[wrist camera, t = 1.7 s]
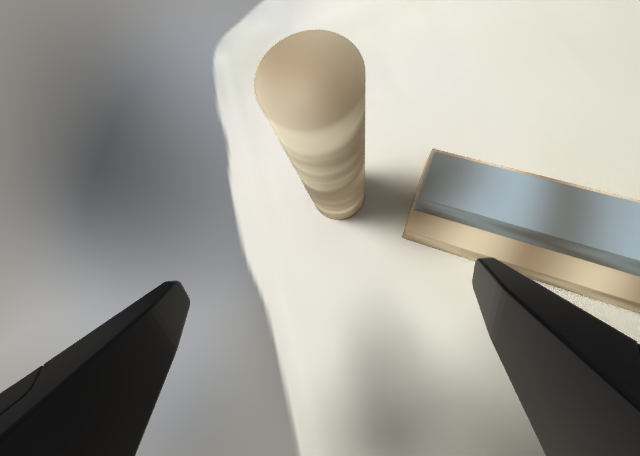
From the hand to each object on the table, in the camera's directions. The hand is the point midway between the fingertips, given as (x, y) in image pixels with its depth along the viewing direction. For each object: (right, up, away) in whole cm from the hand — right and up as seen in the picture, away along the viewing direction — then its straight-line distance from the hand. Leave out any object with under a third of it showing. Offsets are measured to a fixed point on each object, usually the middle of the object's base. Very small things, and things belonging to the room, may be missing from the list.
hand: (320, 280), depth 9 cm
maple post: (+1, +4, +14) cm, 15 cm away
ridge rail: (+14, +1, +11) cm, 18 cm away
